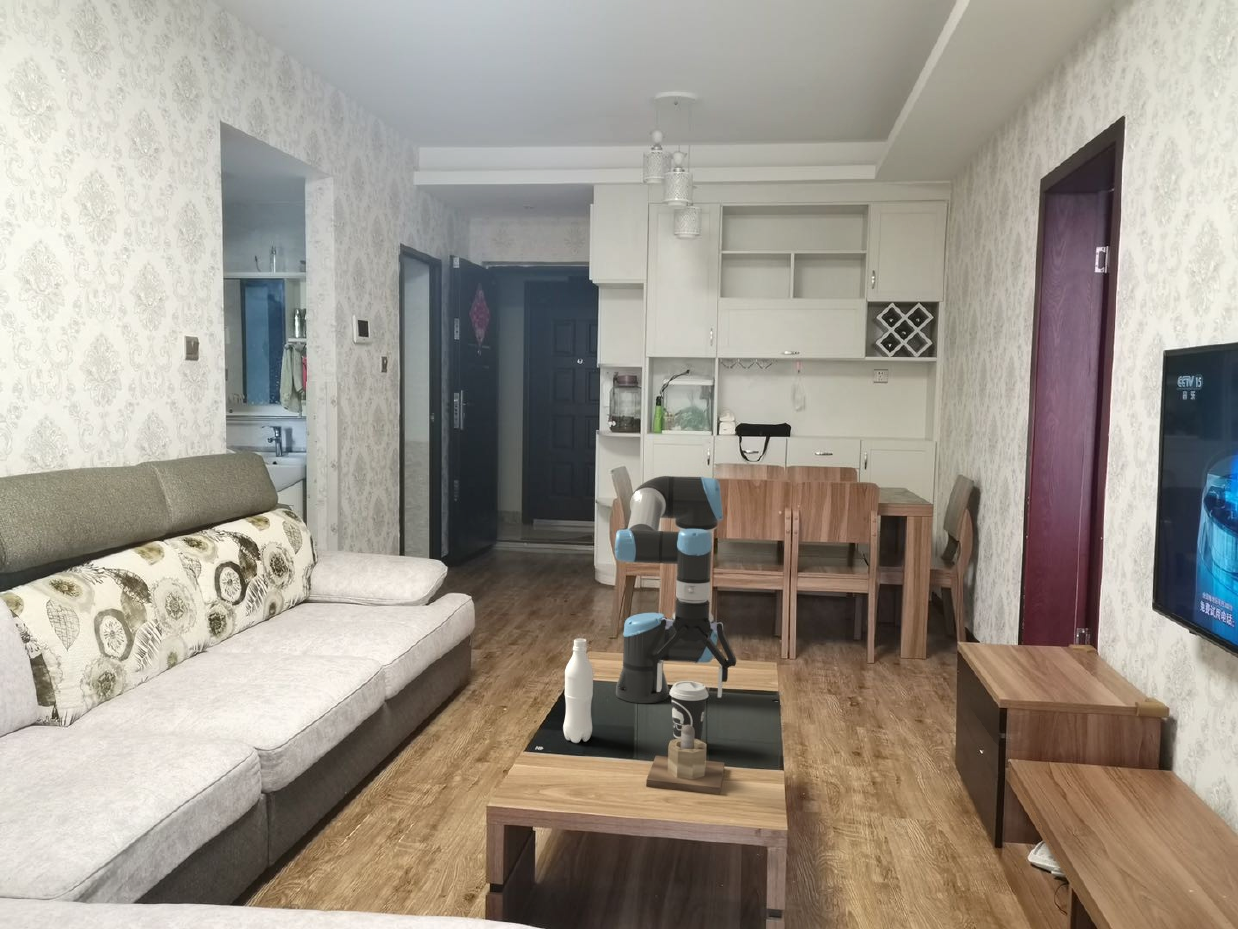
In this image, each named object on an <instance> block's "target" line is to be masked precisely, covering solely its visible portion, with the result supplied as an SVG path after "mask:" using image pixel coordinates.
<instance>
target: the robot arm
mask: <svg viewBox="0 0 1238 929" xmlns="http://www.w3.org/2000/svg"><path fill="white" fill-rule="evenodd" d="M721 494H722V493H721V484H720V481H719V480H718V479H717V478H715V477H714V478H713V477H705V476H675V475H674V476H671V475H663V476H662V475H661V476H658V477H653V478H651V479H648V480H647V481H645V482H643V483H642V484H640V485H639V486H638V487H637V488H636V489H635V490H634V492H633V493H632V495H631V498H630V502H629V507H630V511H631V512H630V517H629V522H628V526H627V528H626V529H618V530H616V533H615V539H614V540H615V543H614V556H615V559H616V560H617V561H618V562H627V563H630V564H631V563H639V564H641V563H643V564H644V563H645V564H646V563H647V564H670V565H676V582H675V583H676V584H675V585H676V586H675V589H676V590H675V597H676V598H677V599H676V600H675V607H674V608H675V611H674V612H673V614H672V616H671V617H672V619H668V618H667V617H666V616H665V615H664V614H663V613H661V612H660V613H658V612H643V613H638V614H634V615H631V616H629V617H627V618H626V620H625V621H624V627H623V633H622V636H623V647H622V648H623V649H622V650H623V651H622V652H623V654H622V658H623V659H622V669H621V672H620V674H619V677H618V681H617V682H616V686H615V695H616V697H617V698H618V699H620V700H622V701H624V702H625V701H626V702H630V703H636V704H653V703H654V704H655V703H659V702H663V701H665V700H667V699H668V698H669V691H670V690H669V686H668V682H667V679H666V678H667V677H666V675H665V670H664V662H676V663H677V662H679V663H692V664H704V663H705V664H707V663H710V662H712V660H713V659H714V658H715V659H716V661H717V662H718V664H719V667H718V676H717V678H718V681H717V682H718V683H717V698H719V699H720V698H722V695H723V683H726V682H727V681H728V676H729V668H730V667H735V666H736V664H737V661H738V660H737V658H736V656H735V654H734V651H733V649H732V646H731V645H730V643H729V640H728V638H727V636H726V633H725V632H724V623H723V621H718V622H716V621H714V616H713V614H712V612H710V597H711V571H712V570H711V568H712V550H713V542H712V541H713V540H712V538H713V537H712V536H713V535H712V533H713V531H714V530H715V529H717V528H718V522H720V521H723V519H724V516H723V506H722V495H721ZM661 519H673V520H675V523H674V524H675V527H677V529H679V531H667V530H660V524H661V523H660V522H661ZM718 640H719V643H720V644H721V647H722V649H723V651H724V653H725V656H726V657H725V656H724V654H723V653H722V652H721V650H720V649H719V648H718V647H717V642H718Z"/></svg>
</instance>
